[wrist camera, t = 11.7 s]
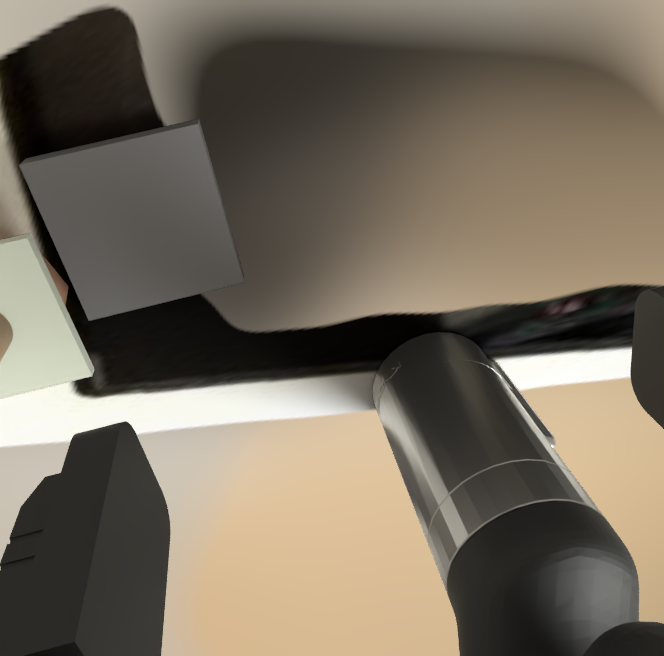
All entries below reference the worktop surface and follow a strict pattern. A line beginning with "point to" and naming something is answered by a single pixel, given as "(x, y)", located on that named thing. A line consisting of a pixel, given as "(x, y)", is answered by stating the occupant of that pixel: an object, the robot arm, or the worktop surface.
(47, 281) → the lid
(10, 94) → the worktop surface
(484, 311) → the worktop surface
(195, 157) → the mat
